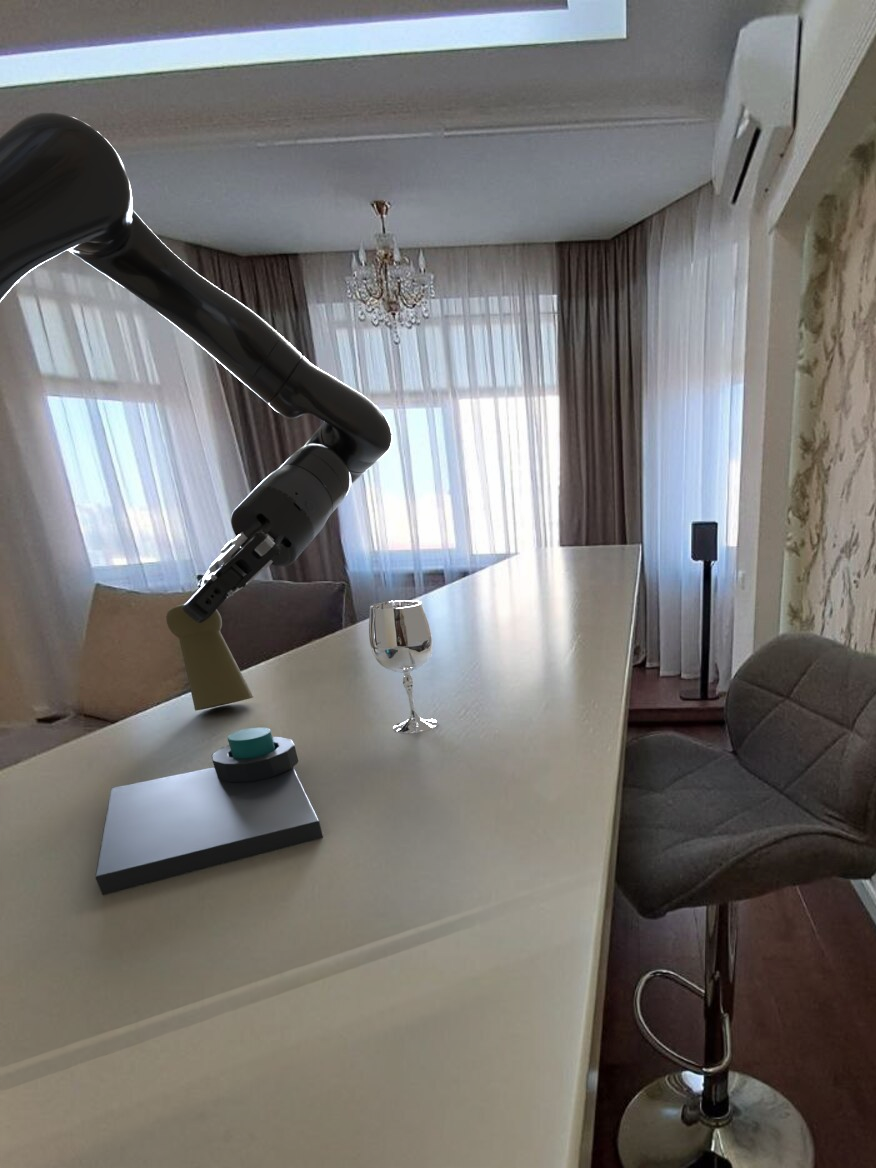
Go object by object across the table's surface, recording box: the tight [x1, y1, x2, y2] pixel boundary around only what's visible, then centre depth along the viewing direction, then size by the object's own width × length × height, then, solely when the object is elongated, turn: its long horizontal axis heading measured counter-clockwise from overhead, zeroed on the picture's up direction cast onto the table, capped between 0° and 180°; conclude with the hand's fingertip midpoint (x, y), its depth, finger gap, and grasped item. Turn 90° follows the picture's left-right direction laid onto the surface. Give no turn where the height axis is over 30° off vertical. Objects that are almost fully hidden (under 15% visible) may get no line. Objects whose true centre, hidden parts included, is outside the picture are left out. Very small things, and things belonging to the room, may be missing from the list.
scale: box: [94, 736, 324, 896], centre depth 51 cm, size 16×14×3 cm
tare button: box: [227, 726, 275, 759], centre depth 55 cm, size 3×3×2 cm
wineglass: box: [368, 600, 439, 734], centre depth 66 cm, size 6×6×12 cm
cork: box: [165, 603, 254, 712], centre depth 75 cm, size 6×6×11 cm
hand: (193, 614), depth 69 cm, fingers closed
